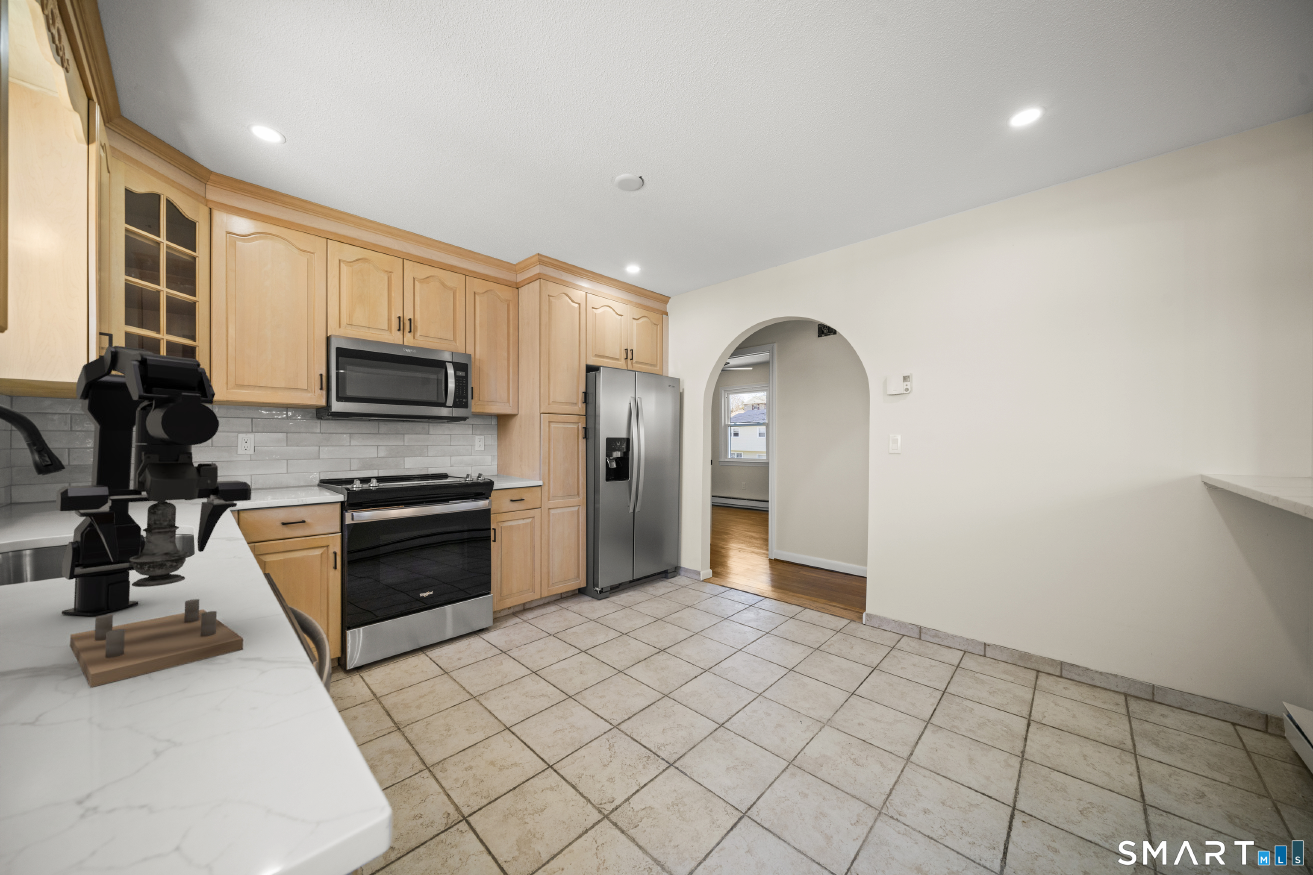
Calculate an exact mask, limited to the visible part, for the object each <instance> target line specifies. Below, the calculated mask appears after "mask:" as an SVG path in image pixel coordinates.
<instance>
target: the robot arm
mask: <svg viewBox="0 0 1313 875" xmlns="http://www.w3.org/2000/svg"><path fill="white" fill-rule="evenodd" d="M112 372H118V373H120V374H118V373H112ZM75 387H76V389H75V390H76V391H75V393H76V399H77V400H80V409H81V411H82V412H83V413H84V414H85V416H86V417H87V419H89V421H90V422H91V423H92V424H93V426H94V432H93V433H94V434H93V444H92V445H93V446H92V466H91V467H92V468H91V483H90V485H63V486H62V487H61V488H58V490H57V491H56V496H55V497H56V500H55V508H56V510H58V511H59V512H73V511H74V514H75V515H77V516H78V517H80V518H84V519H83V520H82V521H80V523H79V524H78V525H77V526H76V527H75V528H74V530H73V537H72V539H73V540H72V541H69V542H68V544H67V546H66V549H65V552H64V555H63V559H62V563H61V574H62V575H61V576H62V577H63V578H65V579H66V580H68V581H71V580H74V579H75V580H74V601H73V604H74V605H73V607H72V608H68V609H64V610H62V611H61V614H62V615H69V616H70V615H71V616H74V615H75V616H87V617H89V616H90V617H96V616H101V615H104V614H106V613H110V612H114V611H118V610H122V609H125V608H130V607H133V606H134V607H135V606H137V605H139V604H140V603H139V601H138V600H136V601H135V600H130V597H131V596H130V593H131V590H130V589H131V581H130V572H131V571H132V572H133V571H135V569H134V567H133V562H132V561H130V558H132V557H135V556H138V555H139V554H141V553H142V552H143V549H144V547H145V542H146V538H145V537H144V535H143V534H142V527H141V526H140V524H139V523H137V521H135V519H134V518H133V517H132V516H131V515H130V513H129V512H130V511H129V510H130V509H129V508H130V507H129V506H130V503H143V502H155V503H157V502H164V501H177V500H179V501H180V500H184V501H193V500H196V499H197V500H198V499H199V500H200V499H206V501H202V502H201V506H200V507H201V508H200V516H199V524H198V532H197V540H196V541H197V550H198V552H200V553H202V552H204V551H205V549H206V546H207V545H208V542H209V540H210V538H211V536H212V533H213V532H214V530H215V527H216V525H217V523H218V522H219V520H220V519H221V517H222V516H223V515H224V513H225V512H227V510H228V509H230V508H236V507H237V506H238V503H236V502H244V501H251V500H252V487H251V485H250V484H249V483H248V482H247V481H244V480H243V481H242V480H219V479H218V477H219V472H218V471H219V469H218V468H219V467H218V465H217V463H216V462H215V463H214V462H213V463H211V462H209V463H208V462H206V463H205V462H203V463H202V462H201V463H197V465H194V462H193V458H194V457H193V452H192V451H193V446H196V445H202V444H204V443H206V442H208V441H210V440H211V439H213V438H214V436H215V435H216V434H217V432H218V430H219V428H220V427H219V426H220V420H219V418H218V416H217V414H216V413H215V411H214V410H213V409H211V408H210V407H209V406H208V405H213V403H214V399H215V395H216V392H215V390H214V388H213V385H212V382H211V380H210V378H209V375H207V372H206V369H205V367H201V362H200V361H199V360H198V359H196V358H189V357H181V356H180V357H179V356H173V355H172V356H171V355H164V354H158V353H156V354H155V353H154V352H153V351H148V349H144V348H137V347H136V348H135V347H129V346H120V345H112V346H110V345H109V346H107V347H106V350H105V352H104V354H103V355H102V356H100V357H98V358H96V359H94V360H93V359H92V360H91V361H89V362H88V363H85V364H84V365H83V366H82V367H81V370H80V373H79V376H78V378H77V380H76V386H75ZM134 428H135V429H134ZM134 431H135V433H134ZM134 434H135V436H134ZM133 439H134V456H133V455H132V454H133ZM132 457H134V458H133V462H134V463H133V478H132V479H133V483H132V488H131V475H132V474H131V473H132ZM143 493H144V494H143ZM76 568H77V569H76ZM78 568H79V569H78Z"/></svg>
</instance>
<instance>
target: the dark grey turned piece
mask: <svg viewBox="0 0 1313 875" xmlns="http://www.w3.org/2000/svg"><path fill="white" fill-rule="evenodd" d="M146 517H147V518H146V519H147V520H146V527H145V528H143V529H142V532H144V533H145V541H146V542H145V547H144V549H143V552H142V553H141V554H139V555H138V556H135V557H132V558H130V561H132V562H133V567H134V569H135V570H134V571H135V572H136V573H137V574H139V575H141V576H146V577H142V578H138V579H137V580H136V581H133V582H132V583H131V587H136V588H145V587H146V588H147V587H158V586H165V585H170V584H175V583H180V582H182V581H184V580H185V579H186V577H185V576H183V575H181V574H178V573H177V574H176V573H175V572H177V571H178V570H180V569H181V568H182V567H184V565H185V563H186V561H187V560H186V559H187V557H188V556H189V555H190V553H189V552H188V551H182V550H180V549H179V548H178V546H177V542H176V539H177V538H176V536H177V530H178V529H179V528H180V527H179V526H177V525H176V523H177V522H176V521H177V520H176V519H177V518H176V517H177V507H176V505H175V504H173V503H171V502H168V500H166V501H164V502H155V503H152V504H150V505H149V506H148V508H147V516H146Z"/></svg>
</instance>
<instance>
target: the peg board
mask: <svg viewBox="0 0 1313 875" xmlns="http://www.w3.org/2000/svg"><path fill="white" fill-rule="evenodd" d="M217 613H218V612H217V610H209V611H206V610H205V609H200V599H199V598H195V599H189V600H185V601H184V612H182V613H177V614H172V615H165V616H161V617H160V616H159V617H155V618H149V619H146V620H139V621H136V622H130V623H124V624H120V625H114V624H113V619H114V615H113V614H111V613H110V614H101V615H97V616H95V621H94V622H95V625H94V629H93V630H92V629H91V630H87V631H82V632H77V633H71V634H70V638H69V639H70V640H69V646H70V648H71V650H72V652H73V654H74V657H75V658H76V661H77V662H78V664H79V667H80V669H81V671H82V673H83V675H84V676H85V679H86V681H87V682H88V684H89V687H90V688H93V687H97V686H98V687H99V686H101V685H106V684H109V683H113V682H118V681H121V680H125V679H126V680H127V679H129V678H130V679H131V678H133V677H138V676H141V675H145V674H149V673H153V672H157V671H162V670H165V669H169V668H174V667H177V666H181V665H185V664H190V663H194V662H198V661H202V660H206V659H209V658H214V657H217V656H221V655H224V654H225V655H226V654H230V653H233V652H237V651H241V650H244V637H242V636H241V635H239V634H238V633H236V632H235V631H234V630H232V629H231V628H230V627H229V626H227V625H225V624H224V623H223V622H221V621H220V620H219V619H218V618H217ZM113 625H114V626H113Z"/></svg>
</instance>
